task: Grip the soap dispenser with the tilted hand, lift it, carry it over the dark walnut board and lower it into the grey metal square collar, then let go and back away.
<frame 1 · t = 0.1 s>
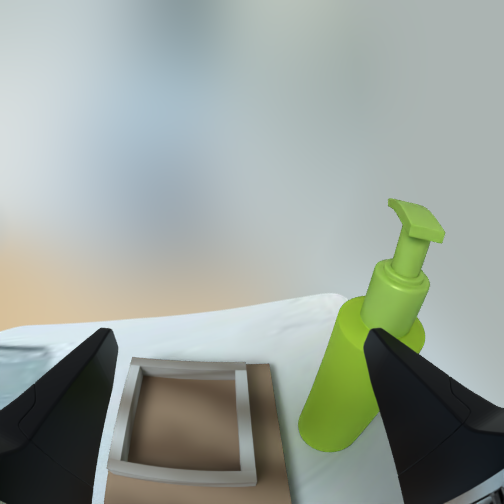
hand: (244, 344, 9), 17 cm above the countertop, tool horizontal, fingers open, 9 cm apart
soap dispenser: (329, 421, 22), on the countertop
walnut holder board: (196, 467, 17), on the countertop
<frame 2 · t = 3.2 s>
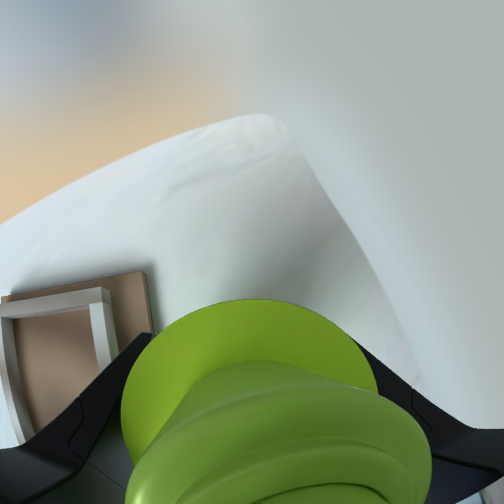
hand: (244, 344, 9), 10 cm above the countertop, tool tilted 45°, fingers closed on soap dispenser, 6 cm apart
soap dispenser: (235, 361, 18), on the countertop, touching gripper
walnut holder board: (90, 429, 15), on the countertop
when the fingers open (11 cm above the countertop, at t = 7.0 s): soap dispenser stays where it is, resting on walnut holder board.
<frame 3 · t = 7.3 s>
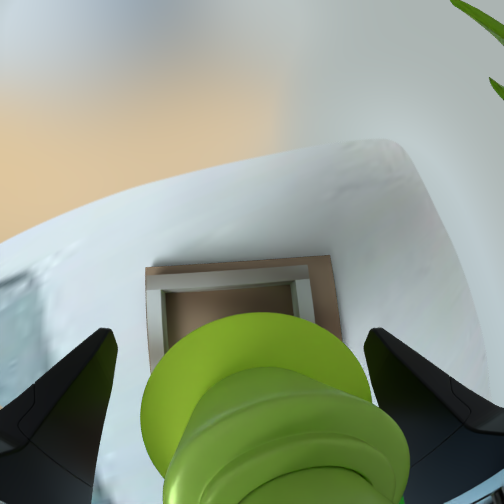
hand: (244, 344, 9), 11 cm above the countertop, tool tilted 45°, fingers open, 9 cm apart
soap dispenser: (238, 362, 18), point 1 cm above the countertop, touching walnut holder board
walnut holder board: (252, 408, 18), on the countertop
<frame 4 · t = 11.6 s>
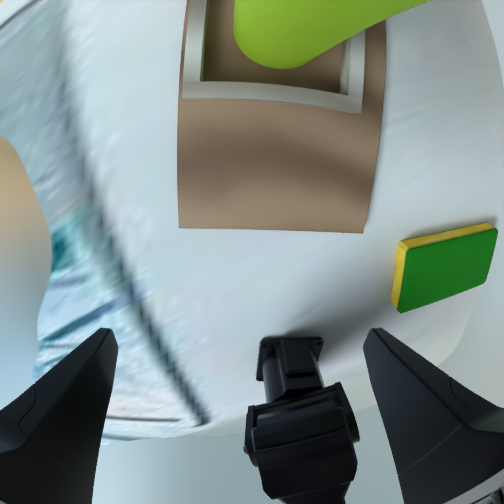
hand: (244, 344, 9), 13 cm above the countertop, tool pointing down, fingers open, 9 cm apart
soap dispenser: (280, 25, 13), point 1 cm above the countertop, touching walnut holder board
walnut holder board: (286, 77, 16), on the countertop
dish sponge: (441, 258, 25), on the countertop
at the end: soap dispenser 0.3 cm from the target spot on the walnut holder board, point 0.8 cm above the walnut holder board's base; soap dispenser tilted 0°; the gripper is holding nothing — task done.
